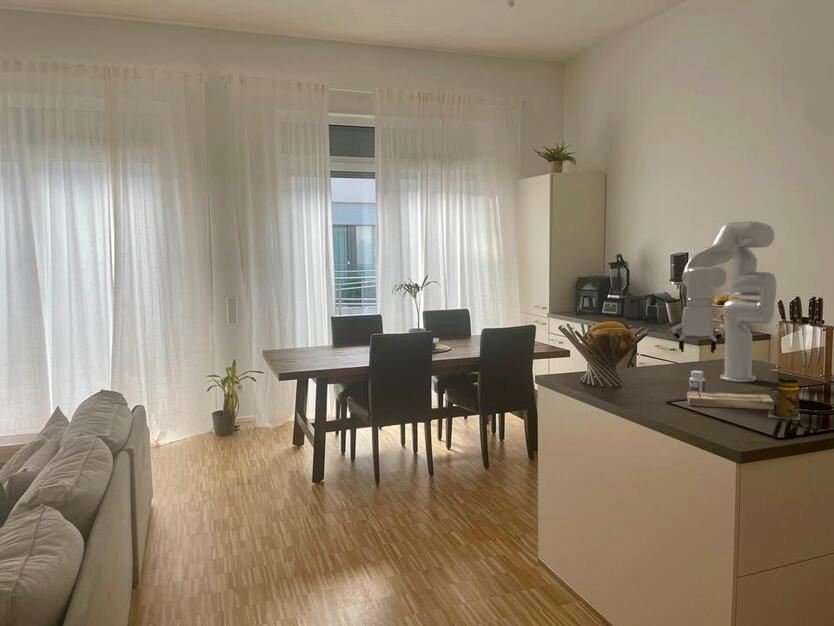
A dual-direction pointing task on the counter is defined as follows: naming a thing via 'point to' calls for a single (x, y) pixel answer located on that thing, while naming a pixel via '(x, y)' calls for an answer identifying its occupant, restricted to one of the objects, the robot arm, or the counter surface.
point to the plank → (730, 400)
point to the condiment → (787, 399)
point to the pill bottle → (697, 382)
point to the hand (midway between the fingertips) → (697, 352)
